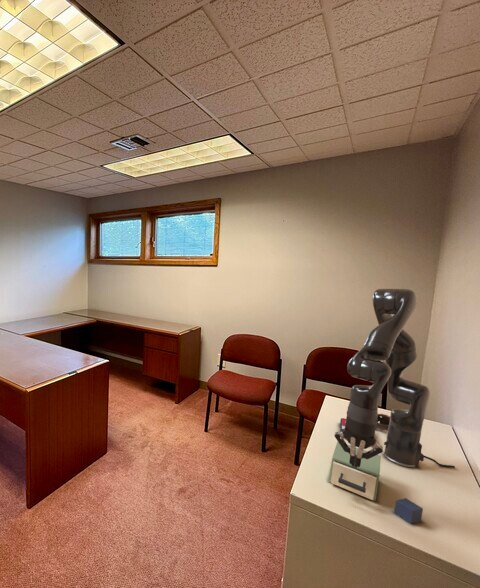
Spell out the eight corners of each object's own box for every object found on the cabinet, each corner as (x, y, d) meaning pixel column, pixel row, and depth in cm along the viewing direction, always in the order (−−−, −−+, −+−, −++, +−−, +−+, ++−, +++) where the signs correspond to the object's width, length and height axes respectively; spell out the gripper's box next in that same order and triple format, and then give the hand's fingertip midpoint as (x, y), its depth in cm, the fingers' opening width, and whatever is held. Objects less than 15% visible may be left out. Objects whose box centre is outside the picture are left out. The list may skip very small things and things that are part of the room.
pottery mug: (402, 434, 149) (402, 422, 146) (383, 442, 150) (382, 430, 147) (378, 415, 161) (377, 404, 157) (360, 423, 161) (359, 412, 158)
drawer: (372, 509, 102) (375, 487, 101) (328, 490, 110) (331, 469, 109) (374, 480, 115) (377, 460, 114) (335, 465, 123) (338, 446, 122)
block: (403, 510, 103) (405, 498, 102) (420, 521, 99) (423, 508, 98) (394, 512, 102) (396, 500, 101) (410, 523, 98) (412, 511, 97)
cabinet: (375, 501, 106) (379, 474, 105) (328, 482, 115) (332, 457, 114) (377, 479, 117) (380, 455, 116) (334, 463, 126) (337, 441, 124)
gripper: (389, 421, 103) (381, 470, 105) (337, 407, 112) (331, 452, 114) (388, 430, 98) (380, 481, 100) (335, 414, 107) (328, 461, 109)
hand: (354, 466), depth 107 cm, fingers closed
